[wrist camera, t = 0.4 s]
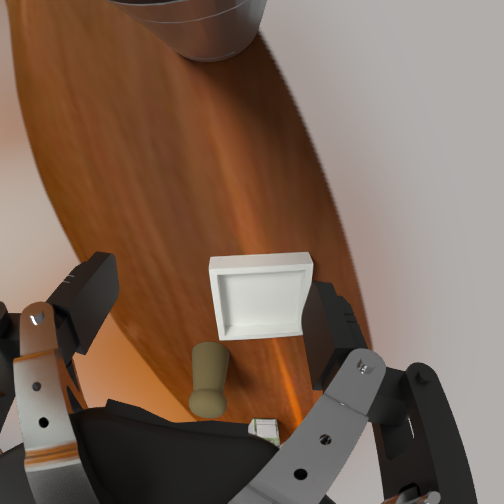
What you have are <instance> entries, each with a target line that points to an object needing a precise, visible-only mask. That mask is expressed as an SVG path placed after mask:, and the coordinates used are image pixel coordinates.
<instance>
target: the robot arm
mask: <svg viewBox="0 0 504 504" xmlns="http://www.w3.org/2000/svg"><path fill="white" fill-rule="evenodd" d="M107 1H108V2H110V3H111V4H113V5H114V6H116V7H117V8H119V9H120V10H122V11H123V12H125V13H126V14H128V15H129V16H130V17H132V18H133V19H135V20H136V21H137V22H139V23H140V24H141V25H143V26H144V27H145V28H147V29H148V30H149V31H151V32H152V33H153V34H155V35H156V36H157V37H158V38H160V39H161V40H162V41H164V42H165V43H166V44H167V45H168V46H170V47H171V48H172V49H173V50H175V51H176V52H177V53H179V54H180V55H182V56H183V57H185V58H188V59H190V60H193V61H199V62H217V61H223V60H225V59H228V58H231V57H233V56H235V55H237V54H239V53H241V52H242V51H243V50H244V49H246V48H247V47H248V46H249V45H250V43H251V42H252V41H253V40H254V38H255V36H256V34H257V32H258V29H259V25H260V22H261V19H262V15H263V12H264V9H265V6H266V2H267V0H107ZM118 294H119V281H118V274H117V267H116V259H115V256H114V254H111V253H104V252H95V253H94V254H93V256H92V257H91V258H90V259H89V260H88V261H87V262H86V261H85V262H83V263H81V264H80V265H78V266H76V267H75V268H74V269H73V270H72V271H71V272H70V274H69V276H67V277H66V278H65V279H64V282H62V283H61V284H60V285H59V286H58V287H57V289H56V290H55V291H54V292H53V293H52V295H51V296H50V297H49V298H48V300H47V301H46V302H36V303H33V304H30V305H29V306H27V307H26V308H25V309H24V310H23V311H22V313H8V311H7V308H6V306H5V304H4V303H3V302H1V301H0V432H1V430H2V427H3V424H4V422H5V419H6V417H7V414H8V412H9V410H10V407H11V405H12V403H13V400H14V398H15V396H16V402H17V409H18V416H19V422H20V428H21V433H22V438H23V443H21V444H19V445H17V446H15V447H14V448H12V449H10V450H8V451H6V452H4V453H3V452H2V450H1V449H0V504H336V503H335V502H334V501H332V500H331V499H330V498H329V497H328V496H327V495H326V492H327V491H328V489H329V488H330V486H331V485H332V483H333V482H334V480H335V479H336V477H337V476H338V474H339V472H340V471H341V469H342V468H343V466H344V464H345V463H346V461H347V459H348V458H349V456H350V454H351V452H352V451H353V449H354V447H355V445H356V443H357V441H358V439H359V438H360V436H361V434H362V432H363V430H364V428H365V426H366V424H367V422H372V427H373V432H374V437H375V442H376V448H377V454H378V460H379V466H380V472H381V479H382V486H383V494H384V501H383V502H382V503H381V504H478V503H477V498H476V493H475V488H474V484H473V479H472V475H471V471H470V467H469V464H468V460H467V456H466V453H465V450H464V446H463V443H462V440H461V437H460V434H459V431H458V428H457V425H456V422H455V419H454V417H453V414H452V411H451V409H450V406H449V403H448V401H447V398H446V395H445V393H444V391H443V388H442V386H441V383H440V381H439V378H438V376H437V374H436V373H435V371H434V370H433V369H432V368H431V367H429V366H428V365H426V364H424V363H418V362H417V363H413V364H411V365H410V366H409V367H408V368H407V370H406V371H401V370H397V369H393V368H389V367H386V365H385V363H384V361H383V359H382V358H381V357H380V356H379V355H378V354H377V353H375V352H373V351H371V350H368V347H367V345H366V342H365V340H364V337H363V335H362V332H361V330H360V327H359V325H358V323H357V320H356V317H355V316H354V312H353V310H352V308H351V305H350V304H349V303H348V302H347V301H346V300H345V299H344V298H343V297H342V296H337V294H336V292H335V289H334V287H333V284H332V283H327V282H318V281H313V282H312V284H311V286H310V289H309V292H308V296H307V299H306V302H305V305H304V308H303V311H302V316H301V327H302V332H303V337H304V343H305V349H306V354H307V360H308V366H309V371H310V377H311V383H312V389H313V390H323V394H322V395H321V397H320V398H319V400H318V401H317V402H316V404H315V405H314V407H313V408H312V409H311V411H310V412H309V413H308V415H307V416H306V417H305V419H304V420H303V421H302V423H301V424H300V425H299V426H298V428H297V429H296V430H295V432H294V433H293V434H292V435H291V437H290V438H289V439H288V440H287V441H286V443H285V444H284V445H283V446H282V447H281V449H280V448H278V447H277V446H276V445H274V444H273V443H271V442H270V441H268V440H266V439H264V438H262V437H259V436H257V435H254V434H251V433H248V424H244V423H232V422H222V421H213V420H211V421H199V422H182V423H174V422H170V421H168V420H166V419H164V418H161V417H159V416H157V415H155V414H152V413H151V412H149V411H146V410H144V409H142V408H140V407H137V406H133V405H129V404H126V403H122V402H118V401H115V400H111V399H108V400H107V403H106V406H105V407H94V408H88V406H87V404H86V401H85V399H84V396H83V393H82V389H81V386H80V382H79V379H78V375H77V371H76V367H75V364H74V360H73V358H72V357H73V355H74V353H75V352H77V353H80V354H83V355H86V353H87V351H88V349H89V347H90V345H91V344H92V342H93V340H94V338H95V336H96V335H97V333H98V331H99V329H100V327H101V325H102V324H103V322H104V320H105V318H106V317H107V315H108V313H109V312H110V310H111V308H112V306H113V305H114V303H115V301H116V300H117V297H118ZM408 418H410V421H411V425H412V429H413V433H414V438H413V434H412V431H411V427H410V423H409V420H408Z"/></svg>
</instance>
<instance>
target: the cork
mask: <svg viewBox="0 0 504 504" xmlns="http://www.w3.org/2000/svg"><path fill="white" fill-rule="evenodd" d="M229 358H230V352H229V350H228V349H227V348H226V347H225V346H223V345H221V344H219V343H215V342H202V343H199V344H197V345H196V346H195V347H194V348H193V350H192V367H193V386H194V392H193V393H192V394H191V396H190V399H189V407H190V409H191V411H192V412H193V413H194V414H196V415H198V416H200V417H204V418H215V417H219V416H221V415H222V414H223V413H224V412H225V410H226V407H227V403H226V398H225V396H224V395H223V391H224V385H225V380H226V374H227V369H228V363H229Z"/></svg>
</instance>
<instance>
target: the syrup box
mask: <svg viewBox="0 0 504 504" xmlns="http://www.w3.org/2000/svg"><path fill="white" fill-rule="evenodd" d="M248 432H249V433H251V434H254V435H257V436H259V437H262V438H264V439H266V440H268V441H270V442H271V443H273V444H274V445H276V446H277V447H278V448H280V441H279V433H278V425H277V419H258V418H254V419H253V420H252V422H251V423H250V425H249V427H248Z"/></svg>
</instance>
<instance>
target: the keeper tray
mask: <svg viewBox="0 0 504 504" xmlns="http://www.w3.org/2000/svg"><path fill="white" fill-rule="evenodd" d="M312 273H313V261H312V259H311V257H310V254H309V252H296V253H277V254H258V255H239V256H220V257H211V258H210V264H209V274H210V281H211V288H212V295H213V302H214V308H215V315H216V321H217V327H218V333H219V339H220V340H239V339H258V338H273V337H286V336H297V335H303V332H302V327H301V316H302V311H303V308H304V305H305V302H306V299H307V296H308V292H309V289H310V286H311V282H312Z"/></svg>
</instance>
